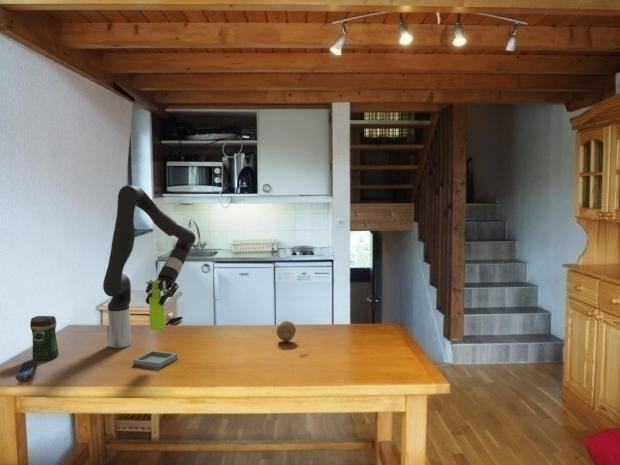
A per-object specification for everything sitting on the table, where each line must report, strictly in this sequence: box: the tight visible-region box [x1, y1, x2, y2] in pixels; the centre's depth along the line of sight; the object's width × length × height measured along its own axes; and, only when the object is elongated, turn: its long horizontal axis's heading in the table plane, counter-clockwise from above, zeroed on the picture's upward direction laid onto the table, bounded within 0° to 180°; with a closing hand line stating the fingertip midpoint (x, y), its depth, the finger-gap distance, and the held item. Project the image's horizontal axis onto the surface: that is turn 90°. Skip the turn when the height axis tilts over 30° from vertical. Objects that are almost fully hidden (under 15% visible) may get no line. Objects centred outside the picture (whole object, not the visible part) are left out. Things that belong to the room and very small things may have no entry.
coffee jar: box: [29, 315, 59, 361], centre depth 208 cm, size 10×8×19 cm
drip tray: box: [132, 350, 178, 370], centre depth 202 cm, size 13×12×2 cm
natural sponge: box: [276, 320, 297, 343], centre depth 225 cm, size 9×9×10 cm
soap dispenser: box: [145, 280, 166, 331], centre depth 199 cm, size 6×7×20 cm
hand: (153, 303), depth 197 cm, fingers closed on soap dispenser, 6 cm apart
